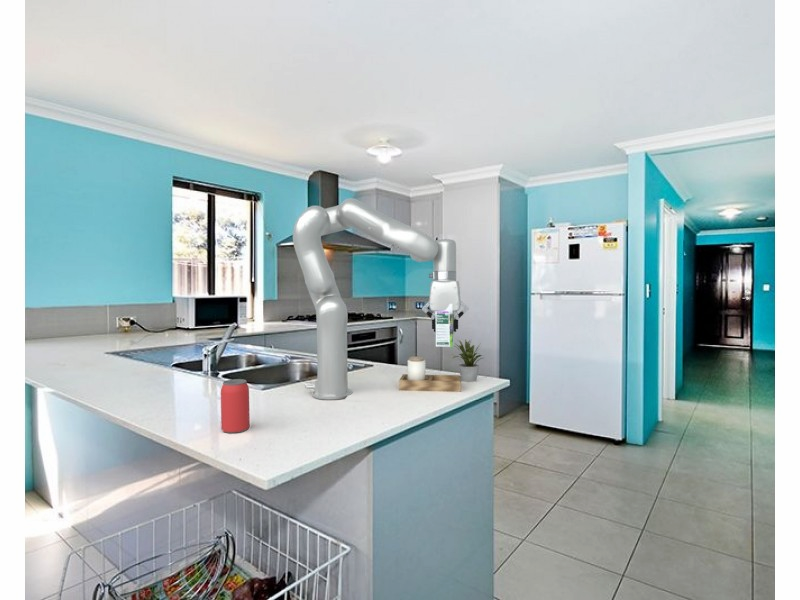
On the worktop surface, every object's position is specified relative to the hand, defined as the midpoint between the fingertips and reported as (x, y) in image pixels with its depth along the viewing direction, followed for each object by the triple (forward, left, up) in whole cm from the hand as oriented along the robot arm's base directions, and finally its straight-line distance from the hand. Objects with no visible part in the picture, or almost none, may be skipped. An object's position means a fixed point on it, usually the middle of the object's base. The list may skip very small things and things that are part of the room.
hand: (445, 330), depth 157 cm
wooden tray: (-5, 0, -20) cm, 20 cm away
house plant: (+7, +13, -20) cm, 25 cm away
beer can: (-49, -49, -20) cm, 72 cm away
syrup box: (0, 0, -5) cm, 5 cm away
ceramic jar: (-10, 0, -19) cm, 21 cm away
